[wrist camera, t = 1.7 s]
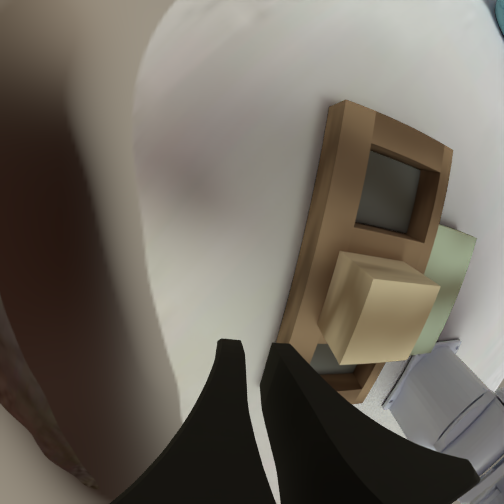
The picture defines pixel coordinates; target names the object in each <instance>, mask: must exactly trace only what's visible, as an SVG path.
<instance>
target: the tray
mask: <svg viewBox="0 0 504 504" xmlns="http://www.w3.org/2000/svg"><path fill="white" fill-rule="evenodd" d="M372 151H373V152H372ZM375 152H376V153H375ZM377 153H378V154H377ZM380 154H381V155H380ZM383 155H384V156H383ZM452 155H453V150H452V149H450V148H449V147H447V146H445V145H443V144H442V143H440V142H438V141H436V140H435V139H433V138H431V137H429V136H427V135H425V134H423V133H422V132H420V131H418V130H416V129H414V128H412V127H410V126H408V125H406V124H403V123H401V122H399V121H397V120H395V119H393V118H390V117H388V116H386V115H384V114H381V113H379V112H377V111H374V110H372V109H369V108H367V107H364V106H362V105H359V104H356V103H354V102H351V101H348V100H344V101H342V102H339V103H337V104H335V105H332V106H330V107H329V111H328V117H327V122H326V128H325V134H324V139H323V145H322V150H321V155H320V161H319V166H318V171H317V176H316V181H315V186H314V190H313V195H312V200H311V205H310V209H309V214H308V218H307V223H306V227H305V232H304V236H303V240H302V244H301V249H300V253H299V257H298V261H297V265H296V269H295V273H294V277H293V281H292V285H291V289H290V293H289V297H288V301H287V304H286V308H285V312H284V315H283V319H282V323H281V326H280V330H279V334H278V337H277V341H276V343H289V344H291V345H292V346H293V347H294V348H295V349H296V350H297V352H298V353H299V354H300V355H301V356H302V357H303V358H304V359H305V360H306V361H307V362H308V363H309V364H310V366H311V367H312V368H313V369H314V370H315V371H316V372H317V373H318V374H319V375H320V376H321V377H322V378H323V379H324V380H325V381H326V382H327V383H328V384H329V385H330V386H331V387H332V388H334V389H335V390H336V391H337V392H338V393H339V394H340V395H341V396H343V397H344V398H345V399H346V400H347V401H348V402H350V403H351V404H358V403H363V401H364V399H365V398H366V396H367V394H368V393H369V391H370V389H371V388H372V386H373V384H374V383H375V381H376V379H377V377H378V376H379V374H380V372H381V370H382V368H383V366H384V365H385V363H386V362H380V363H367V364H350V365H339V363H338V361H337V359H336V358H335V356H334V354H333V352H332V350H331V349H330V347H329V345H328V343H327V341H326V340H325V338H324V336H323V334H322V333H321V331H320V329H319V327H318V326H317V324H318V321H319V318H320V315H321V312H322V309H323V306H324V303H325V299H326V296H327V293H328V290H329V286H330V283H331V280H332V276H333V273H334V270H335V266H336V263H337V259H338V255H339V252H340V251H343V252H350V253H356V254H362V255H368V256H374V257H380V258H386V259H392V260H398V261H403V262H405V263H406V264H408V265H409V266H411V267H413V268H414V269H416V270H417V271H419V272H420V273H422V274H423V275H425V276H426V277H428V278H429V279H431V280H432V281H434V282H435V283H437V284H438V285H440V286H441V287H440V290H439V292H438V295H437V297H436V300H435V302H434V305H433V307H432V309H431V312H430V314H429V316H428V319H427V321H426V323H425V325H424V327H423V329H422V332H421V334H420V336H419V338H418V340H417V342H416V344H415V346H414V348H413V350H412V352H411V353H410V355H417V354H425V353H431V351H432V349H433V347H434V346H435V344H436V342H437V340H438V338H439V336H440V334H441V332H442V330H443V328H444V325H445V323H446V321H447V319H448V317H449V314H450V312H451V310H452V308H453V305H454V303H455V300H456V298H457V296H458V293H459V290H460V288H461V285H462V283H463V280H464V277H465V274H466V271H467V268H468V265H469V262H470V259H471V256H472V253H473V250H474V246H475V243H476V239H477V238H475V237H473V236H470V235H468V234H465V233H463V232H461V231H458V230H456V229H453V228H450V227H447V226H444V225H441V224H439V223H440V219H441V214H442V210H443V206H444V201H445V197H446V192H447V186H448V181H449V175H450V169H451V162H452ZM385 156H386V157H385ZM388 157H389V158H388ZM391 158H392V159H391ZM393 159H394V160H393ZM396 160H397V161H396ZM398 161H399V162H398ZM401 162H402V163H401ZM403 163H404V164H403ZM406 164H407V165H406ZM408 165H409V166H408ZM411 166H412V167H411ZM413 167H414V168H413ZM415 168H416V169H415ZM418 169H419V170H418ZM355 221H356V222H355ZM357 222H360V223H357ZM361 223H365V224H361ZM366 224H369V225H366ZM370 225H374V226H370ZM375 226H378V227H375ZM379 227H382V228H379ZM383 228H386V229H383ZM388 229H391V230H388ZM392 230H395V231H392ZM396 231H399V232H396ZM400 232H403V233H400Z"/></svg>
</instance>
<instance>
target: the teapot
mask: <svg viewBox="0 0 504 504" xmlns="http://www.w3.org/2000/svg"><path fill="white" fill-rule="evenodd" d="M495 14H496V18H497V21H498V24H499V27H500V29H501V31H502V33H503V36H504V0H497V2H496V7H495Z"/></svg>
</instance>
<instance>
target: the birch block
mask: <svg viewBox="0 0 504 504" xmlns="http://www.w3.org/2000/svg"><path fill="white" fill-rule="evenodd" d="M440 287H441V286H440V285H438V284H437V283H435V282H434V281H432V280H431V279H429V278H428V277H426V276H425V275H423V274H422V273H420V272H419V271H417V270H416V269H414V268H413V267H411V266H409V265H408V264H406V263H405V262H403V261H398V260H392V259H386V258H380V257H374V256H368V255H362V254H356V253H350V252H343V251H340V252H339V255H338V259H337V263H336V266H335V270H334V273H333V276H332V280H331V283H330V286H329V290H328V293H327V296H326V299H325V303H324V306H323V309H322V312H321V315H320V318H319V321H318V324H317V326H318V327H319V329H320V331H321V333H322V334H323V336H324V338H325V340H326V341H327V343H328V345H329V347H330V349H331V350H332V352H333V354H334V356H335V358H336V359H337V361H338V363H339V365H350V364H367V363H380V362H391V361H401V360H407V359H408V357H409V355H410V353H411V352H412V350H413V348H414V346H415V344H416V342H417V340H418V338H419V336H420V334H421V332H422V329H423V327H424V325H425V323H426V321H427V319H428V316H429V314H430V312H431V309H432V307H433V305H434V302H435V300H436V297H437V295H438V292H439V290H440Z"/></svg>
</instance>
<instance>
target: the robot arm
mask: <svg viewBox="0 0 504 504" xmlns="http://www.w3.org/2000/svg"><path fill="white" fill-rule="evenodd" d="M461 342H462V341H461V340H451V341H443V342H436V344H435V346H434V347H433V349H432V351H431V353H425V354H417V355H413V357H412V359H411V361H410V362H409V364H408V366H407V368H406V369H405V371H404V373H403V375H402V376H401V378H400V380H399V381H398V383H397V385H396V386H395V388H394V389H393V391H392V393H391V394H390V396H389V397H388V399H387V400H386V402H385V403H384V405H383V407H382V408H383V409H384V410H387V409H390V411H391V413H392V414H393V416H394V418H395V419H396V421H397V423H398V424H399V426H400V427H401V429H402V431H403V432H404V434H405V436H406V437H407V439H408V440H407V439H405V438H403V437H401V436H399V435H397V434H396V433H394V432H392V431H390V430H388V429H387V428H385V427H383V426H382V425H380V424H378V423H377V422H375V421H374V420H372V419H371V418H370V417H368V416H367V415H365V414H364V413H362V412H361V411H360V410H358V409H357V408H356V407H354V406H353V405H352V404H351V403H350V402H348V401H347V400H346V399H345V398H344V397H343V396H341V395H340V394H339V393H338V392H337V391H336V390H335V389H334V388H332V387H331V386H330V385H329V384H328V383H327V382H326V381H325V380H324V379H323V378H322V377H321V376H320V375H319V374H318V373H317V372H316V371H315V370H314V369H313V368H312V367H311V366H310V364H309V363H308V362H307V361H306V360H305V359H304V358H303V357H302V356H301V355H300V354H299V353H298V352H297V350H296V349H295V348H294V347H293V346H292V345H291V344H289V343H272V345H271V348H270V352H269V355H268V359H267V362H266V366H265V369H264V373H263V376H262V380H261V383H260V394H261V405H262V412H263V417H264V421H265V425H266V429H267V433H268V437H269V441H270V445H271V449H272V453H273V457H274V461H275V466H276V471H277V477H278V484H279V492H280V501H281V504H452V503H453V502H454V501H456V500H457V501H460V503H462V504H467V503H469V504H504V457H503V458H502V459H501V460H500V461H499V462H498V463H497V464H496V465H495V466H494V467H493V468H492V469H490V470H489V471H488V472H487V473H486V474H485V475H483V476H481V477H479V476H480V475H481V474H483V473H484V472H485V471H486V470H487V469H488V468H489V467H491V466H492V465H493V464H494V463H495V462H496V461H497V460H498V459H499V458H500V457H501V456H502V455H503V454H504V387H502V388H498V389H497V390H496V391H495V392H496V394H497V395H498V396H497V395H496V394H495V393H494V392H493V391H491V390H490V389H489V388H488V387H487V386H486V385H485V384H484V383H483V382H482V381H481V380H480V379H479V378H478V377H477V376H476V375H475V374H474V372H473V371H472V370H471V369H470V368H469V367H468V366H467V365H466V364H465V363H464V362H463V361H462V360H461V359H460V358H459V357H458V356H457V355H456V352H457V351H458V349H459V347H460V345H461ZM110 504H276V502H275V500H274V497H273V494H272V491H271V488H270V486H269V483H268V480H267V477H266V474H265V471H264V468H263V465H262V462H261V458H260V455H259V451H258V447H257V444H256V440H255V436H254V432H253V428H252V424H251V419H250V415H249V409H248V401H247V382H246V364H245V353H244V349H243V346H242V343H241V340H232V339H220V340H218V342H217V349H216V356H215V361H214V364H213V367H212V369H211V372H210V374H209V377H208V379H207V382H206V384H205V386H204V388H203V390H202V392H201V394H200V396H199V398H198V400H197V402H196V403H195V405H194V407H193V409H192V410H191V412H190V414H189V415H188V417H187V419H186V420H185V422H184V423H183V425H182V426H181V428H180V429H179V431H178V432H177V434H176V435H175V436H174V437H173V439H172V440H171V441H170V443H169V444H168V446H167V447H166V448H165V449H164V450H163V452H162V453H161V454H160V455H159V457H158V458H157V459H156V460H155V461H154V462H153V463H152V464H151V465H150V466H149V467H148V468H147V470H146V471H145V472H144V473H143V474H142V475H141V476H140V477H139V478H138V479H137V480H136V481H135V482H134V483H133V484H132V485H131V486H130V487H129V488H128V489H126V490H125V491H124V492H123V493H122V494H120V495H119V496H118V497H117V498H116V499H115V500H113V501H112V502H111V503H110Z"/></svg>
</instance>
